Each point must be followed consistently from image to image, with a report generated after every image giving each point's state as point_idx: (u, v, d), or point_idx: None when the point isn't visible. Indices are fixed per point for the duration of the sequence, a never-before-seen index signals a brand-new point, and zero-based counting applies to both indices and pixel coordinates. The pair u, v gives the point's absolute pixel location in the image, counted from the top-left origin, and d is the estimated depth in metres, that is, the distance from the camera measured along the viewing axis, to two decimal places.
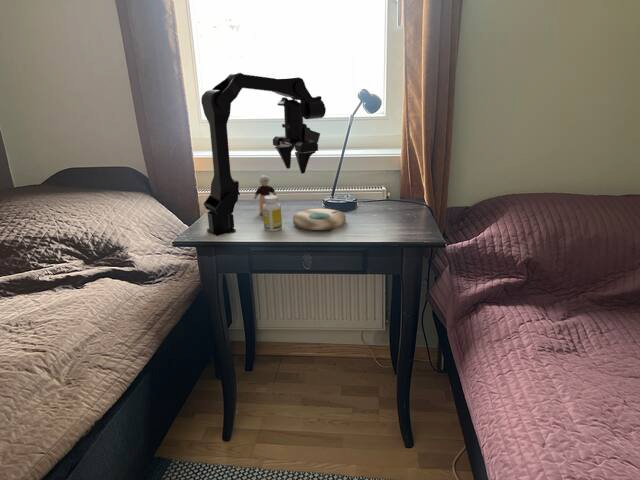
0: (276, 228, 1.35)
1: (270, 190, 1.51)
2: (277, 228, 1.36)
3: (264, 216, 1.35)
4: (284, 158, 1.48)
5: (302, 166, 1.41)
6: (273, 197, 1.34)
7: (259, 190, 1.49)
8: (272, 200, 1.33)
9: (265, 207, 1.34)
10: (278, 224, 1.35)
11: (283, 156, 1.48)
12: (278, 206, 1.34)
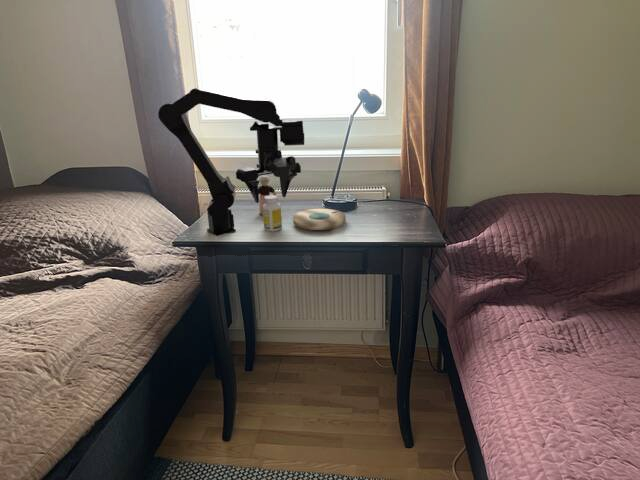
0: (276, 228, 1.35)
1: (270, 190, 1.51)
2: (277, 228, 1.36)
3: (264, 216, 1.35)
4: (281, 185, 1.37)
5: (253, 194, 1.31)
6: (273, 197, 1.34)
7: (259, 190, 1.49)
8: (272, 200, 1.33)
9: (265, 207, 1.34)
10: (278, 224, 1.35)
11: (280, 182, 1.37)
12: (278, 206, 1.34)
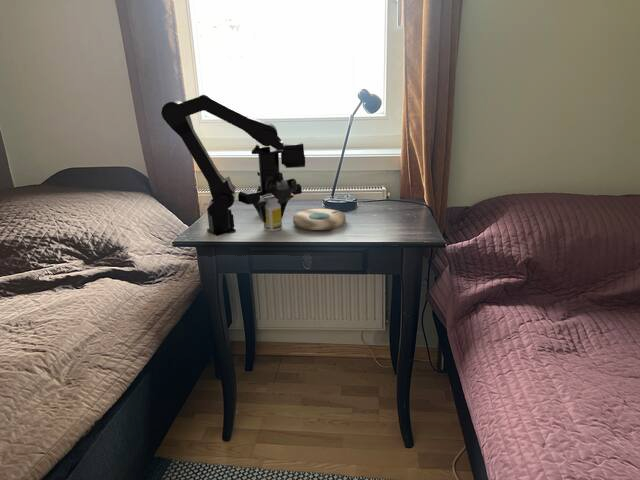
0: (276, 228, 1.35)
1: None
2: (277, 228, 1.36)
3: None
4: None
5: (260, 214, 1.34)
6: (273, 197, 1.34)
7: (259, 190, 1.49)
8: (272, 200, 1.33)
9: (265, 207, 1.34)
10: (278, 224, 1.35)
11: None
12: (278, 206, 1.34)
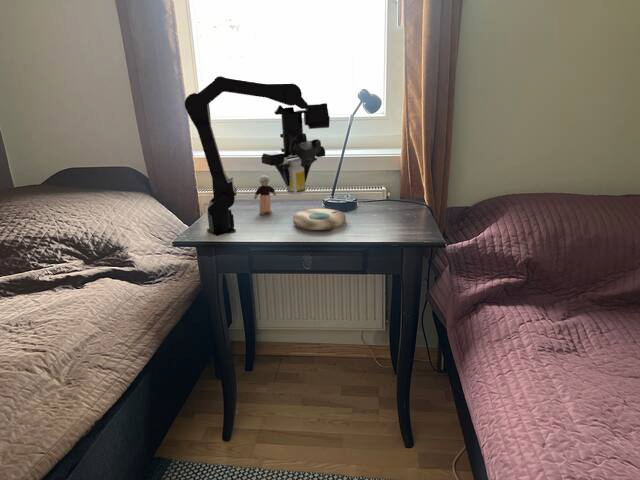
0: (300, 191, 1.33)
1: (270, 190, 1.51)
2: (301, 191, 1.33)
3: None
4: None
5: (284, 177, 1.32)
6: (296, 159, 1.32)
7: (259, 190, 1.49)
8: (296, 162, 1.31)
9: None
10: (302, 188, 1.33)
11: None
12: (302, 169, 1.32)
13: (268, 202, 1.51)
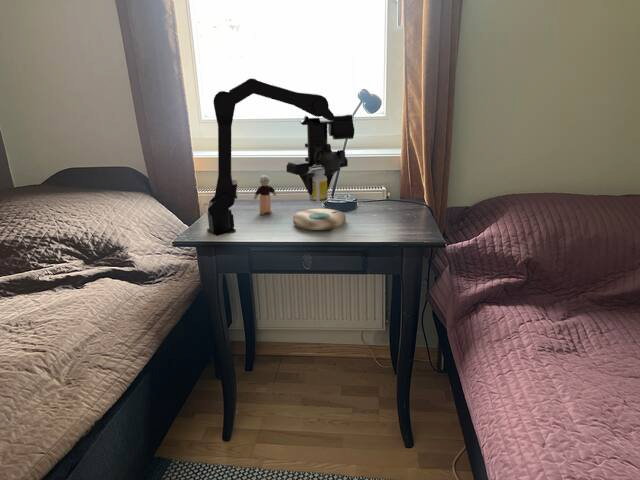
0: (322, 200, 1.36)
1: (270, 190, 1.51)
2: (323, 200, 1.36)
3: None
4: None
5: (307, 186, 1.35)
6: (320, 169, 1.34)
7: (259, 190, 1.49)
8: (319, 172, 1.33)
9: (312, 179, 1.34)
10: (324, 197, 1.36)
11: None
12: (325, 178, 1.34)
13: (268, 202, 1.51)
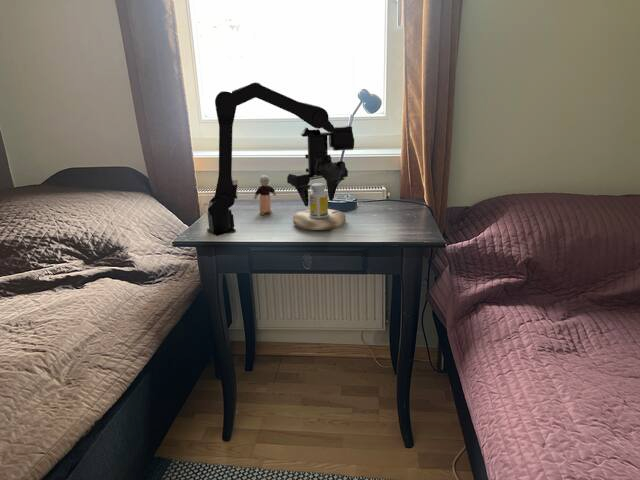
0: (323, 215, 1.37)
1: (270, 190, 1.51)
2: (324, 215, 1.37)
3: (311, 203, 1.37)
4: (328, 188, 1.41)
5: (303, 198, 1.35)
6: (320, 185, 1.36)
7: (259, 190, 1.49)
8: (320, 187, 1.35)
9: (313, 194, 1.35)
10: (325, 212, 1.37)
11: (327, 186, 1.41)
12: (325, 193, 1.36)
13: (268, 202, 1.51)
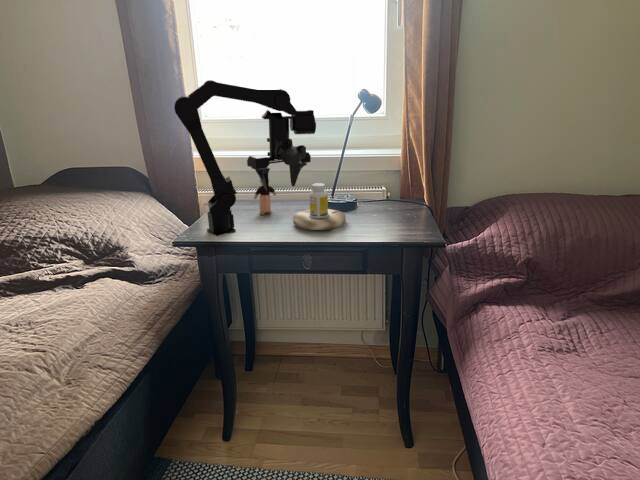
0: (323, 215, 1.37)
1: (270, 190, 1.51)
2: (324, 215, 1.37)
3: (311, 203, 1.37)
4: (290, 174, 1.39)
5: (263, 182, 1.34)
6: (320, 185, 1.36)
7: (259, 190, 1.49)
8: (320, 187, 1.35)
9: (313, 194, 1.35)
10: (325, 212, 1.37)
11: (290, 171, 1.39)
12: (325, 193, 1.36)
13: (268, 202, 1.51)
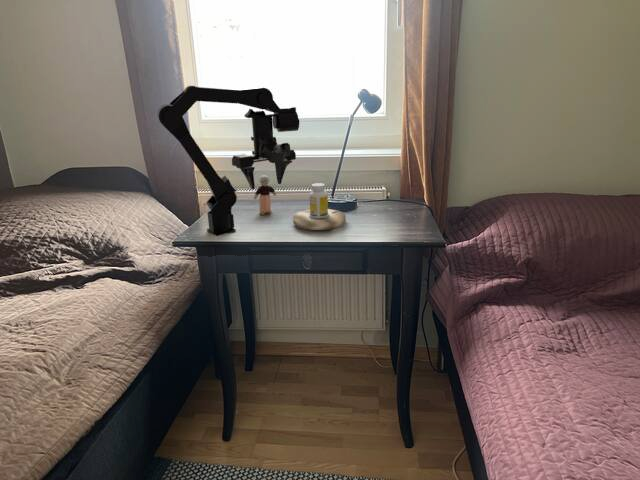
0: (323, 215, 1.37)
1: (270, 190, 1.51)
2: (324, 215, 1.37)
3: (311, 203, 1.37)
4: (276, 172, 1.40)
5: (249, 180, 1.34)
6: (320, 185, 1.36)
7: (259, 190, 1.49)
8: (320, 187, 1.35)
9: (313, 194, 1.35)
10: (325, 212, 1.37)
11: (276, 169, 1.40)
12: (325, 193, 1.36)
13: (268, 202, 1.51)
